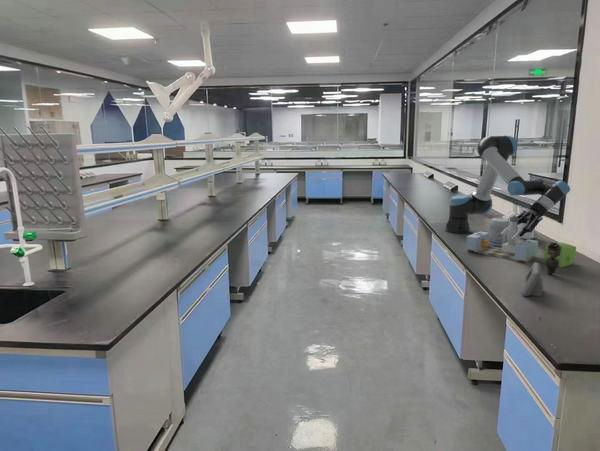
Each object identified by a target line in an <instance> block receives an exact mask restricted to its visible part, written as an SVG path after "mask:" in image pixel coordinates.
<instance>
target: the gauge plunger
mask: <svg viewBox="0 0 600 451" xmlns="http://www.w3.org/2000/svg"><path fill="white" fill-rule="evenodd" d="M481 246H485V247H487V246H490V244H489V240H484V239H482V240H481Z"/></svg>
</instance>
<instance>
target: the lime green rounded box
mask: <svg viewBox="0 0 600 451" xmlns="http://www.w3.org/2000/svg"><path fill="white" fill-rule="evenodd" d="M556 243H557V244H559V245H560V246H561V247H562V249H561V252H560V255H559V256H558V257H556V259H558V260H559V266H558V267H557V268H563V267H568V266H570V265H573V264H574V261H575V257H577V255H578V252H577V251H576V250H577V246H574V245H572V244H569V243H565V242H561V241H558V242H556ZM548 245H550V243H549V244H546V246H545V250H544V257H543V263H544V264H546V259H547V258H550V255H549V254H548V253H547V252H548V250H547V249H548V247H547V246H548Z"/></svg>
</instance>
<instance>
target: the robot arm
mask: <svg viewBox="0 0 600 451" xmlns="http://www.w3.org/2000/svg"><path fill="white" fill-rule="evenodd" d="M476 149H477V154H478V156H479V157H480V159H482V160H483V161H484V162H486V165H485V167H484V169H483V173H482V175H481V178H480V180H479V183H478V185H477V187H476V189H475V190H474V191H473V192H472V194H471V196H470V195H468V194H456V195H453V196H451V198H450V200H449V213H448V220H447V222H446V225H445V229H444V230H445V231H446V232H448V233H453V234H454V233H455V234H468V233H470V232H471V227H470V222H469V215H470V216H471V215H483V214H488V213H489V212H490V211H491V209H492V208H493V199H492V196H491V193H492V191H493V188H494V186H495V184H496V181H497V179H498V177H500V178H501V179H502V181H503V182H505V184H506V185H507V193H508V194H509V195H510V196H517V197H520V196H530V195H531V196H532V195H533V196H535V195H540V197H538V199H537V200H536V201H535V202H534V203H532V204H531V205H530V207H529V208H530V209H529V210H528V211H526V210H525V209H524V210H522V211H521V212H520V213H519V214H518V215H516V216H517V217H518V224H517V226H518V225H519V224H521V223H522V222H524V221H527V223H526V225H525V227H524V228H522V229H521V230H520V231H519V232H518V233H516V234H515V235H514V236H513V237H512V239H513V240H514V241H515V243H516V242H518V241H519V240H520V239H522V238H521V237H522V236H523V235H524V234H525V233H528V232H529V233H531V232H532V231H533V229H534V228H535V229H536V228H537V225H539V223H540V222H541V221H543V219H544V218H543V217H544V216H545V215H546V214H547V213H548V211H549V212H550V211H551V209H553V207H555V205H556V204H558V203H559V202H560V201H561V200H562V199H563V198H564V197H566V196H567V195H568V193H570V191H571V187H570V185H569V184H568V183H567V182H565V181H564V180H558V181H555V183H554V182H550V181H547V180H545V179H542V178H539V177H535V178H533V179H530V180H525V179H524V178H523V177H522V176H521V175H520V174H519V173H518V171H517V170H515V169H514V168H513V166H511V164H509V162H508V160H509V157H511V156H514V155H515V154H516V152H517V149H518V143H517V141H516V138H514V137H513V136H510V135H495V136H494V135H488V136H484V137H483V138H482V139H480V141H479V142H478V144H477V148H476ZM509 224H510V221H509ZM535 229H534V230H535ZM501 234H502V235H503V236H504V237H505V236H506V235H508V234H509V226H508V227H507V228H506V229H505V230H504V231H503V232H502V233H501Z"/></svg>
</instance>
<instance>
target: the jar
mask: <svg viewBox="0 0 600 451" xmlns="http://www.w3.org/2000/svg"><path fill="white" fill-rule="evenodd" d="M526 223H527V221H524V222H522V223H521V224H519V225H517V233H518V232H519V231H520V230H521V229H522V228H524V227H525V225H526ZM535 229H536V227H535V228H534V229H533V231H532V232H531V233H529V232H528V233H525V234H524V235H523V236H522V237H521V238H520V239H525V240H528V239H530V240H533V239H534V236H535ZM517 233H516V234H517Z"/></svg>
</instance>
